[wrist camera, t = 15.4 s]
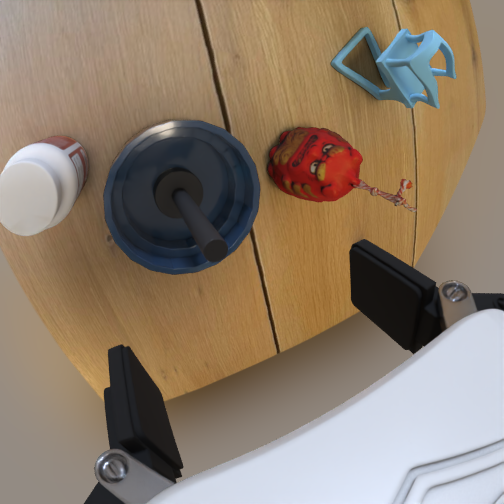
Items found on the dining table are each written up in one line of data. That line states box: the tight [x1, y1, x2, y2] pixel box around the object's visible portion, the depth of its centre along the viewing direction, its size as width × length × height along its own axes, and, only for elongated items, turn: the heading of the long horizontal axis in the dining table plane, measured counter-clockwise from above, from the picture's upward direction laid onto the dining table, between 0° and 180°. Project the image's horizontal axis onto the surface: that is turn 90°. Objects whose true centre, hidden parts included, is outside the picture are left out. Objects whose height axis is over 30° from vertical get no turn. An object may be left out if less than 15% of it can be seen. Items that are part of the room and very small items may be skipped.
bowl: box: [103, 120, 260, 275], centre depth 27 cm, size 13×13×5 cm
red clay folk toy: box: [267, 127, 417, 212], centre depth 26 cm, size 8×7×15 cm
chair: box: [331, 27, 456, 109], centre depth 25 cm, size 8×8×12 cm
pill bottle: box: [0, 136, 89, 236], centre depth 19 cm, size 6×6×11 cm
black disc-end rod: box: [153, 167, 228, 262], centre depth 23 cm, size 4×4×14 cm
